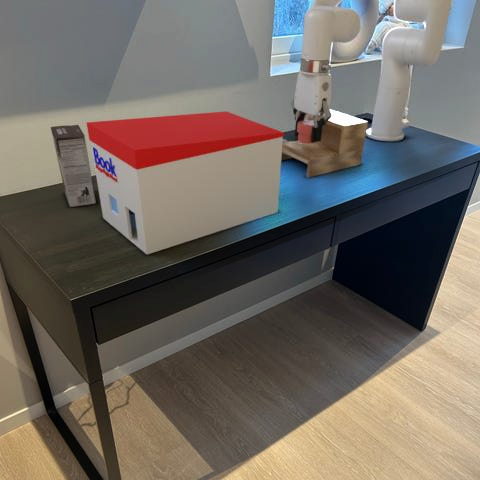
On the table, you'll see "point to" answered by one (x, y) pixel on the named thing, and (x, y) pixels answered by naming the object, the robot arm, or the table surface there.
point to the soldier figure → (284, 140)
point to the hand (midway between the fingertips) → (307, 137)
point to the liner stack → (305, 131)
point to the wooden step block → (331, 145)
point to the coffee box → (74, 164)
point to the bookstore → (184, 175)
